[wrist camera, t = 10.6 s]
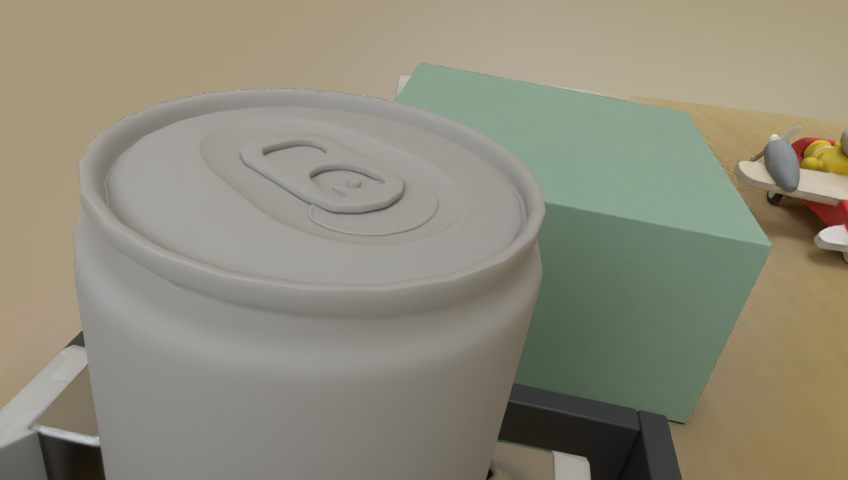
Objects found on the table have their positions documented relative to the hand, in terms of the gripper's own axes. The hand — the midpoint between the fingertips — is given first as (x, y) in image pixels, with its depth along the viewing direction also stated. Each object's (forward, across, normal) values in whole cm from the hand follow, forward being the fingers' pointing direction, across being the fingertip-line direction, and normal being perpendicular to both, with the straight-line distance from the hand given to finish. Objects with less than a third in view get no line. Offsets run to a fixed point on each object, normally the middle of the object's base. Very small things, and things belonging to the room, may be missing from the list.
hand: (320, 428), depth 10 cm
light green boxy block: (+16, -4, +7) cm, 18 cm away
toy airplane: (+28, -21, +7) cm, 36 cm away
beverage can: (-1, 0, +7) cm, 7 cm away
